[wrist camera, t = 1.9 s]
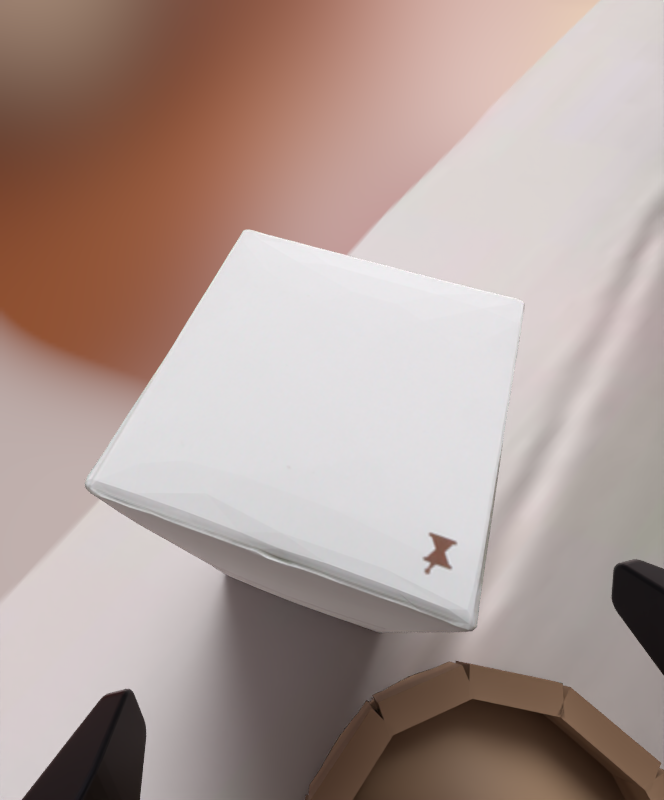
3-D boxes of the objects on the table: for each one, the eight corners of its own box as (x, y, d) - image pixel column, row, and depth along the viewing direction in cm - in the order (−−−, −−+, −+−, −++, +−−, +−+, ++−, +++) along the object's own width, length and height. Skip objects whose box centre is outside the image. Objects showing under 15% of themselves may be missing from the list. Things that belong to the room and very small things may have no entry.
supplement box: (425, 473, 21) (543, 297, 10) (382, 638, 18) (484, 653, 7) (283, 425, 22) (244, 216, 11) (217, 573, 19) (66, 491, 8)
